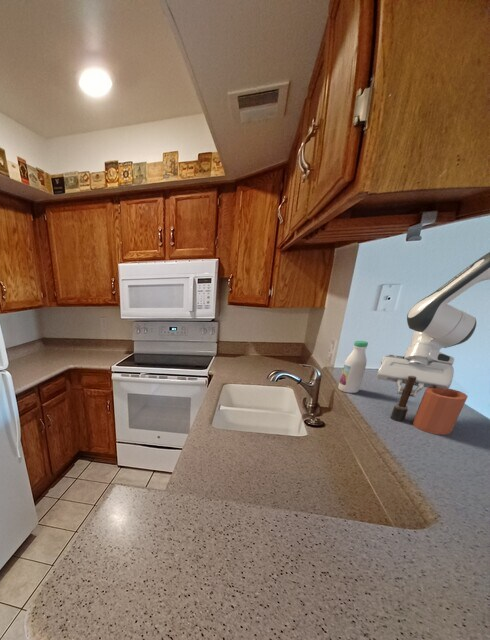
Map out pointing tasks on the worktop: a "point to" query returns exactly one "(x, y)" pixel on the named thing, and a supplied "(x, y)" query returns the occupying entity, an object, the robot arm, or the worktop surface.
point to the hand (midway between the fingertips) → (406, 394)
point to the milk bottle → (354, 368)
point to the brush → (403, 401)
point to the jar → (439, 410)
